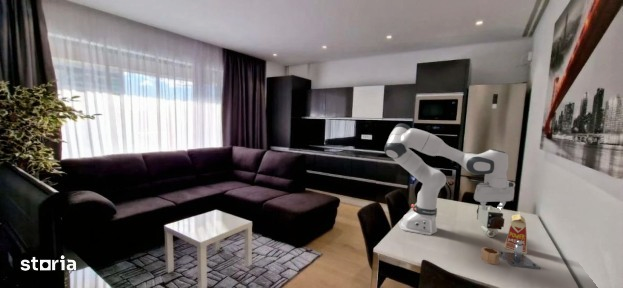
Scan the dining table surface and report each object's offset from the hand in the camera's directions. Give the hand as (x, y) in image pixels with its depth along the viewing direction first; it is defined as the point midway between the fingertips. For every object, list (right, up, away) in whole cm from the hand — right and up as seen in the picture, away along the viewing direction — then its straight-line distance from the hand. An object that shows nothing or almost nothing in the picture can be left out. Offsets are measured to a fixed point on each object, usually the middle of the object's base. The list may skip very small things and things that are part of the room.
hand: (492, 209), depth 124 cm
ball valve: (+17, -23, +27) cm, 39 cm away
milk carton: (+20, -24, +10) cm, 33 cm away
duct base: (+11, -25, -1) cm, 27 cm away
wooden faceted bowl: (-3, -24, -2) cm, 25 cm away
